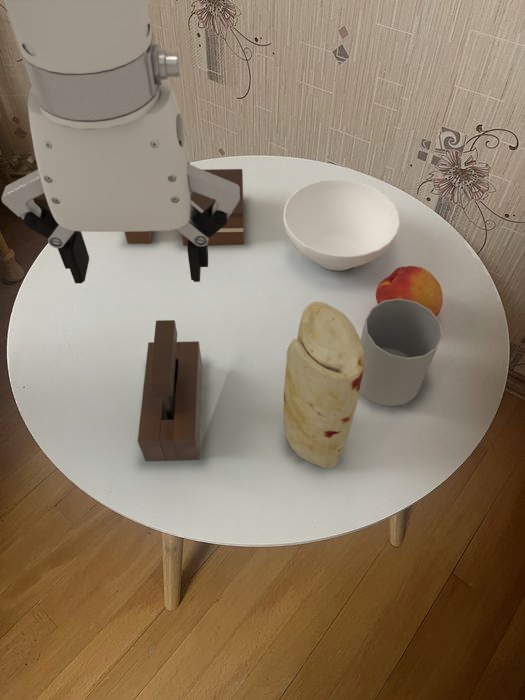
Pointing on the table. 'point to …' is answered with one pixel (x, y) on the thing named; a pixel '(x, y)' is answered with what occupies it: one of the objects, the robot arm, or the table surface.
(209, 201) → the cake
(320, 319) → the food model
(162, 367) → the knife
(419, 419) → the table surface
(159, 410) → the knife block
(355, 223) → the bowl
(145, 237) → the cake slice
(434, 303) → the fruit
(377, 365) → the cup
